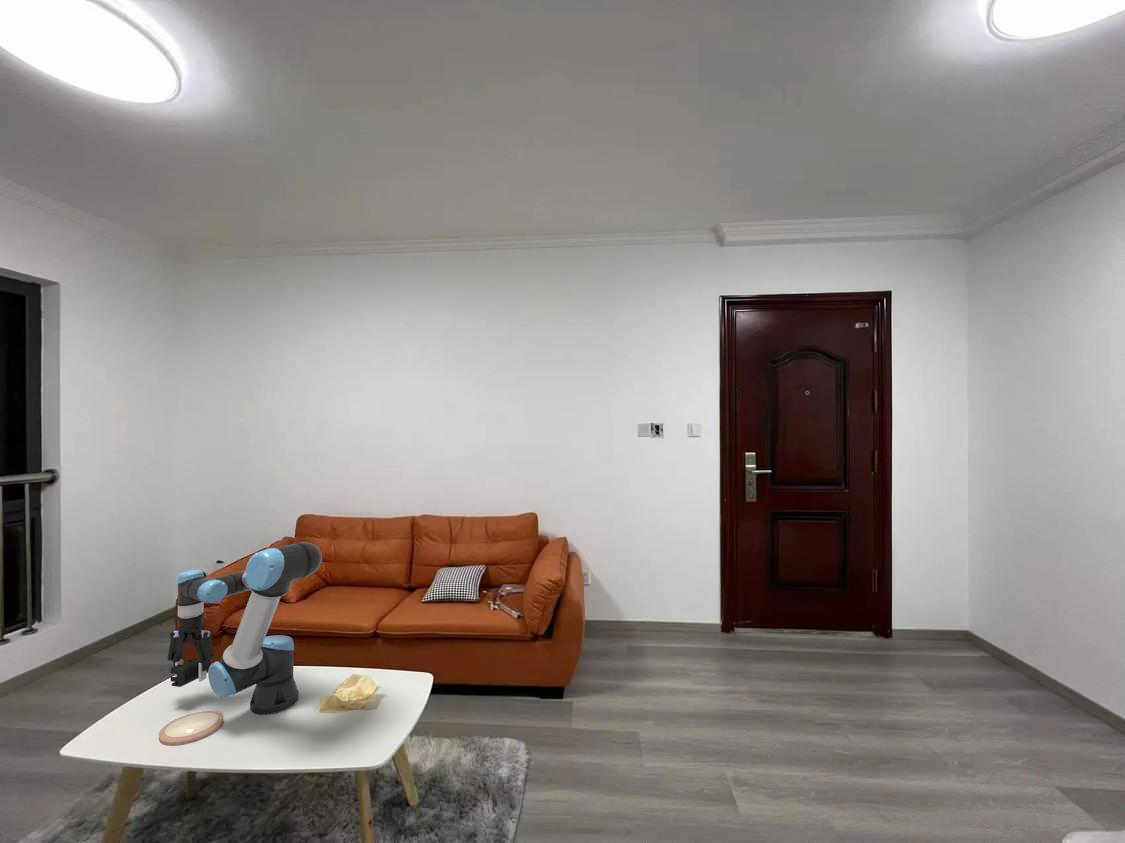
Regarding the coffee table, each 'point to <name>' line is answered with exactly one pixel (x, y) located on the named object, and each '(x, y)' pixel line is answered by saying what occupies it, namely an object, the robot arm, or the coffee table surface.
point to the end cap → (187, 672)
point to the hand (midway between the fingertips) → (190, 679)
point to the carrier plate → (191, 728)
